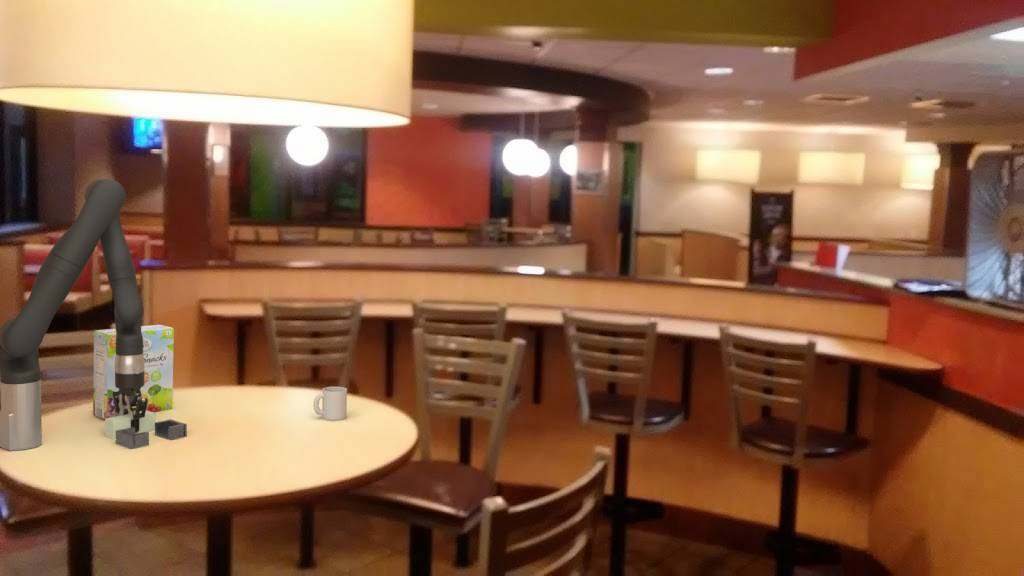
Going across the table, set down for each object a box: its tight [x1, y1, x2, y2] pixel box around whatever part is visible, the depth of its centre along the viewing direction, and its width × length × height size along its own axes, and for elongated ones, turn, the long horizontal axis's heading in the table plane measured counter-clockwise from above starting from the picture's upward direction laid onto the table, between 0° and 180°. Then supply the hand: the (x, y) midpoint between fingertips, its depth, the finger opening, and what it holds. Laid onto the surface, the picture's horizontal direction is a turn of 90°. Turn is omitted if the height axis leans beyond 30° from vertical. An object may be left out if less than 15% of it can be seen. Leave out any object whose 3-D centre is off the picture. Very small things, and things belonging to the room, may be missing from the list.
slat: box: [104, 410, 156, 440], centre depth 253 cm, size 12×4×5 cm, turn 144°
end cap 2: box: [154, 418, 188, 441], centre depth 252 cm, size 5×7×4 cm
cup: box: [313, 386, 348, 422], centre depth 276 cm, size 7×10×9 cm
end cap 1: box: [115, 427, 150, 450], centre depth 242 cm, size 5×7×4 cm
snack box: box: [92, 324, 175, 421], centre depth 273 cm, size 22×9×26 cm, turn 143°
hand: (130, 430), depth 253 cm, fingers closed on slat, 4 cm apart
